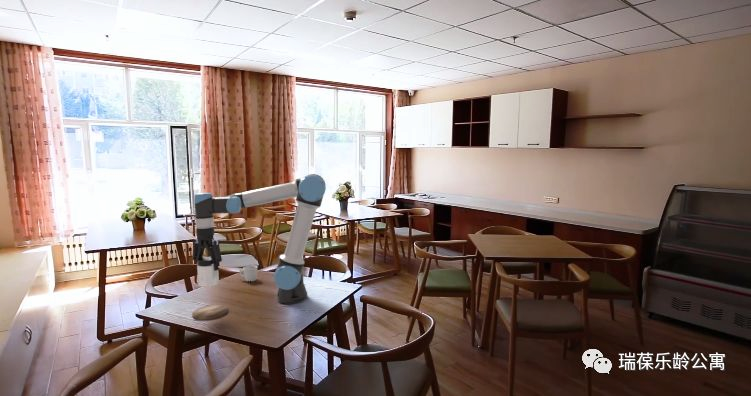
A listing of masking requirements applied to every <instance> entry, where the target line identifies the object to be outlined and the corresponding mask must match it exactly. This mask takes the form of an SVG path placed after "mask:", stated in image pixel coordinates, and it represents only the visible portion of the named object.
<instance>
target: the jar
mask: <svg viewBox="0 0 751 396" xmlns="http://www.w3.org/2000/svg"><path fill="white" fill-rule="evenodd" d="M215 261H216V260H215ZM212 263H213V262H212V259H211V256H203V257H202V258H199V259H198V266H197V265H196V270H197V272H196V273H197V283H198V284H197V286H198V287H200V288H201V287H203V288H209V287H210V288H211V287H212V286H217V285H218V284H219V282H220V278H219V275H220V274H219V273H218V277H215V278H212Z"/></svg>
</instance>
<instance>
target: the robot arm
mask: <svg viewBox="0 0 751 396" xmlns="http://www.w3.org/2000/svg"><path fill="white" fill-rule="evenodd" d="M325 181H326V180H324V178H323V177H322V176H321V175H319V174H315V173H313V174H312V173H310V174H308V175H306V176H303V177H300V178H295V180H294V181H292V182H287V183H280V184H276V185H272V186H267V187H262V188H257V189H252V190H248V191H243V192H238V193H232V194H230V195H226V196H214V195H213V193H211V192H199V193H198V192H197V193H195V194H194V197H193V200H194V203H193V205H194V216H195V217H194V219H195V227H196V228H195V233H196V237H197V238H194V239H192V244H193V246H192V260H193V261H195V262H196V267H197V266H198V259H199V258H203V257H204V252H205V249H206V250H207V251H208V254H209V255H210V256H209V257H211V259H212V262H213V263H212V278H215V277H218V274H219V269H220V268H219V263H221V262H222V261H223V258H222V253H221V248H220V243H221V242H220V240H219V239H215V238H214V235H215V227H214V226H215V222H214V221H215V220H214V218H215V217H214V215H216V214H239V213H240V212H241V210H242V209H245V208H249V207H254V206H259V205H264V204H268V203H269V204H270V203H274V202H278V201H284V200H288V199H293V198H295V201H296V203H297V208H296V210H295V213H294V218H293V221H292V225H291V229H290V232H289V235H288V239H287V243H286V246H285V249H284V253H282V254H279V256H278V263H277V266H276V268H275V269H276V270H275V272H274V274H273V280H274V283H275V285H276V286H277V287H278V290H277V294H276V301H277V302H278V303H280V304H285V305H286V304H288V305H289V304H292V305H293V304H298V303H302V302H304V301H306V300H307V299H308V291H307V289H306V288H307V287H306V286H305V284H304V283H305V282H304V266H305V260H304V259H303V258H304V254H305V251H306V247H307V243H308V239H309V236H310V233H311V229H312V225H313V221H314V218H315V215H316V211H317V209H319V208H320V207H321V206H322V202H323V198H324V196H325V193H326V188H327V187H326V182H325ZM215 260H216V261H215Z"/></svg>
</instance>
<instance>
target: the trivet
mask: <svg viewBox="0 0 751 396" xmlns="http://www.w3.org/2000/svg"><path fill="white" fill-rule="evenodd" d="M228 312H229V308H228V306H226V305H222V304H211V305H206V306H201V307H199V308H197V309H195V310H194V311H192V318H193V319H195V320H198V321H209V320H214V319H218V318H221V317H223V316H225V315H226V314H228Z"/></svg>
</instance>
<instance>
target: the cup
mask: <svg viewBox="0 0 751 396" xmlns="http://www.w3.org/2000/svg"><path fill="white" fill-rule="evenodd" d="M242 272H243V273H242ZM239 275H240V277H243V278H244V280H245V282H248V281H249V282H250V281H251V282H255V281H256V280H257V279H258V266H257V265H253V264H251V265H245V266H244V267H243V268H241V269H240V270H239Z"/></svg>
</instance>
